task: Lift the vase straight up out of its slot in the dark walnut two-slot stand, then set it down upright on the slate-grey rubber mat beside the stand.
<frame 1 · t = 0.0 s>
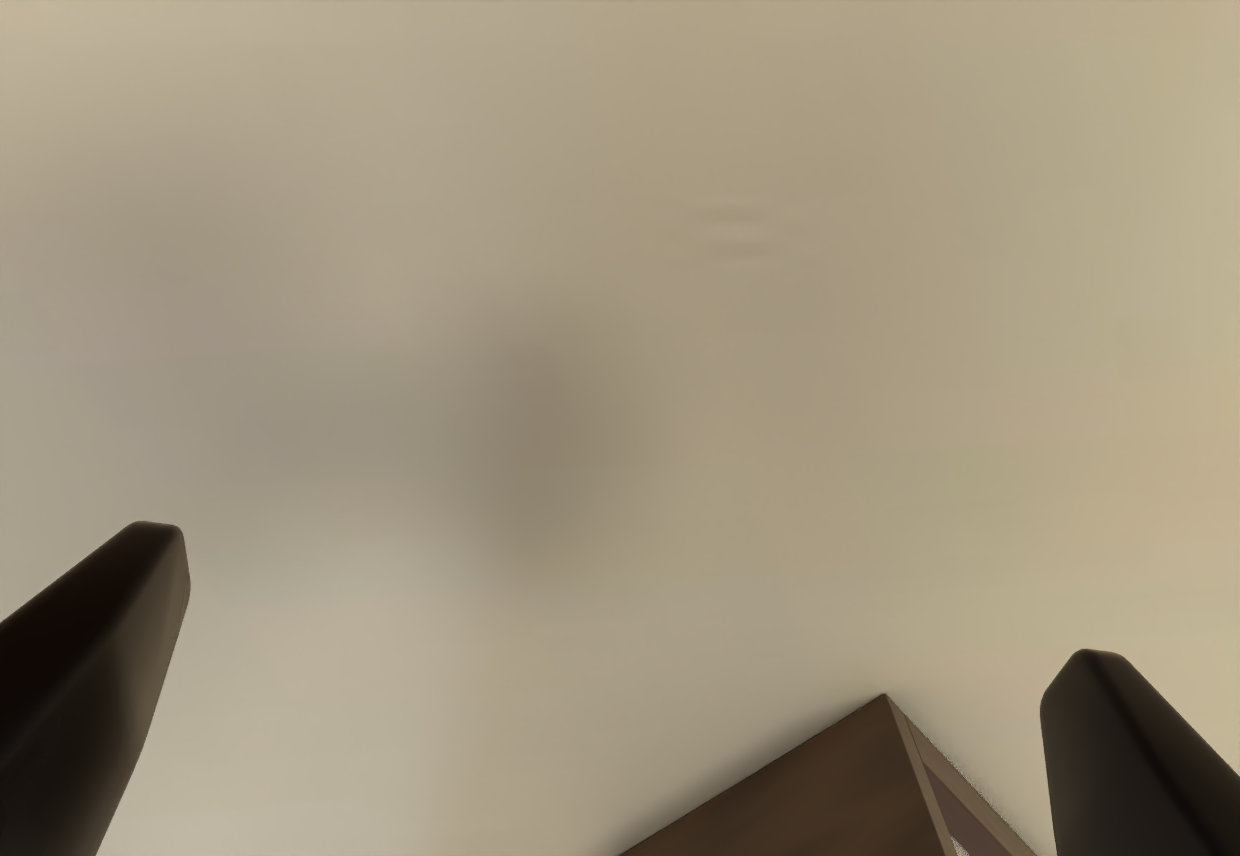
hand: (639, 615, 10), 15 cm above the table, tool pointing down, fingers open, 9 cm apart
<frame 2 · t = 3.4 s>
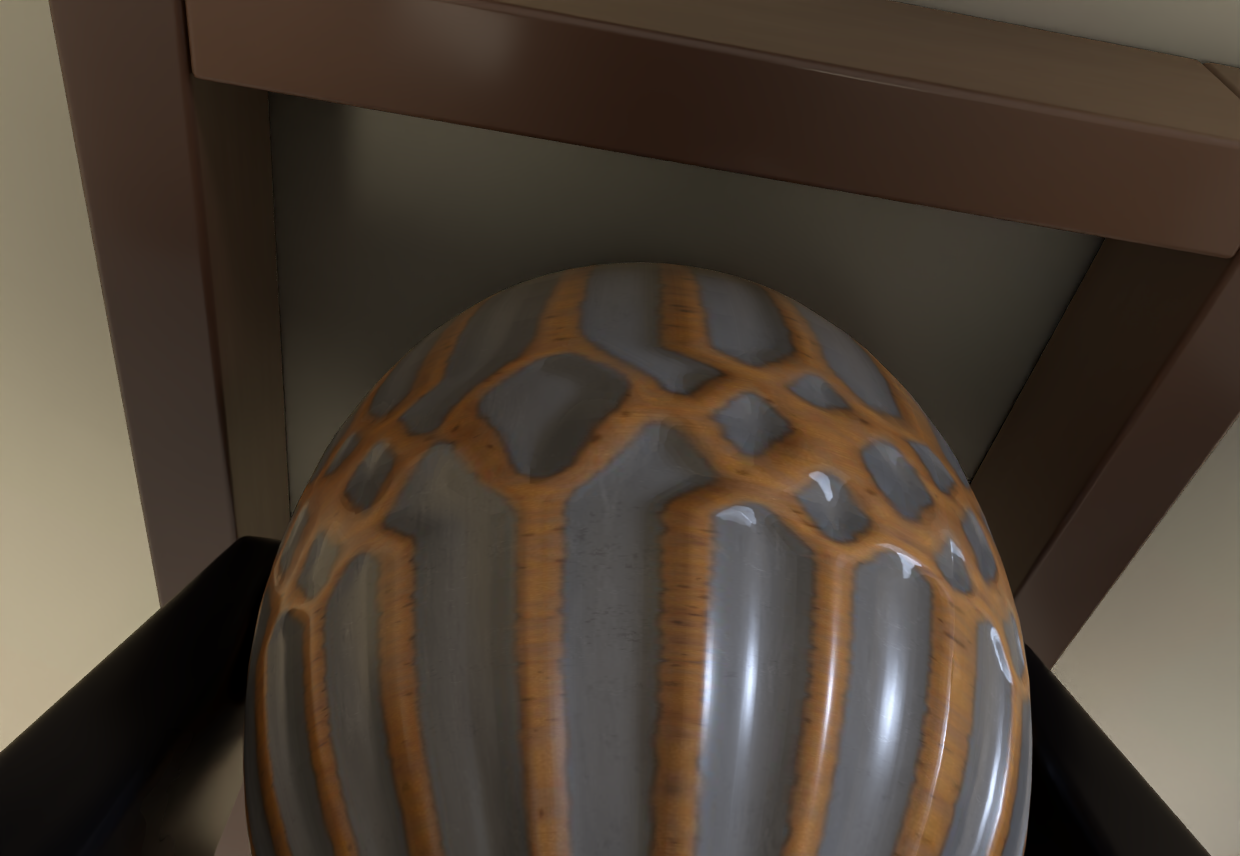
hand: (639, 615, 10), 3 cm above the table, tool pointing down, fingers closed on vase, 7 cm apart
vase: (640, 409, 13), resting in cup stand, touching gripper
cup stand: (582, 656, 16), on the table
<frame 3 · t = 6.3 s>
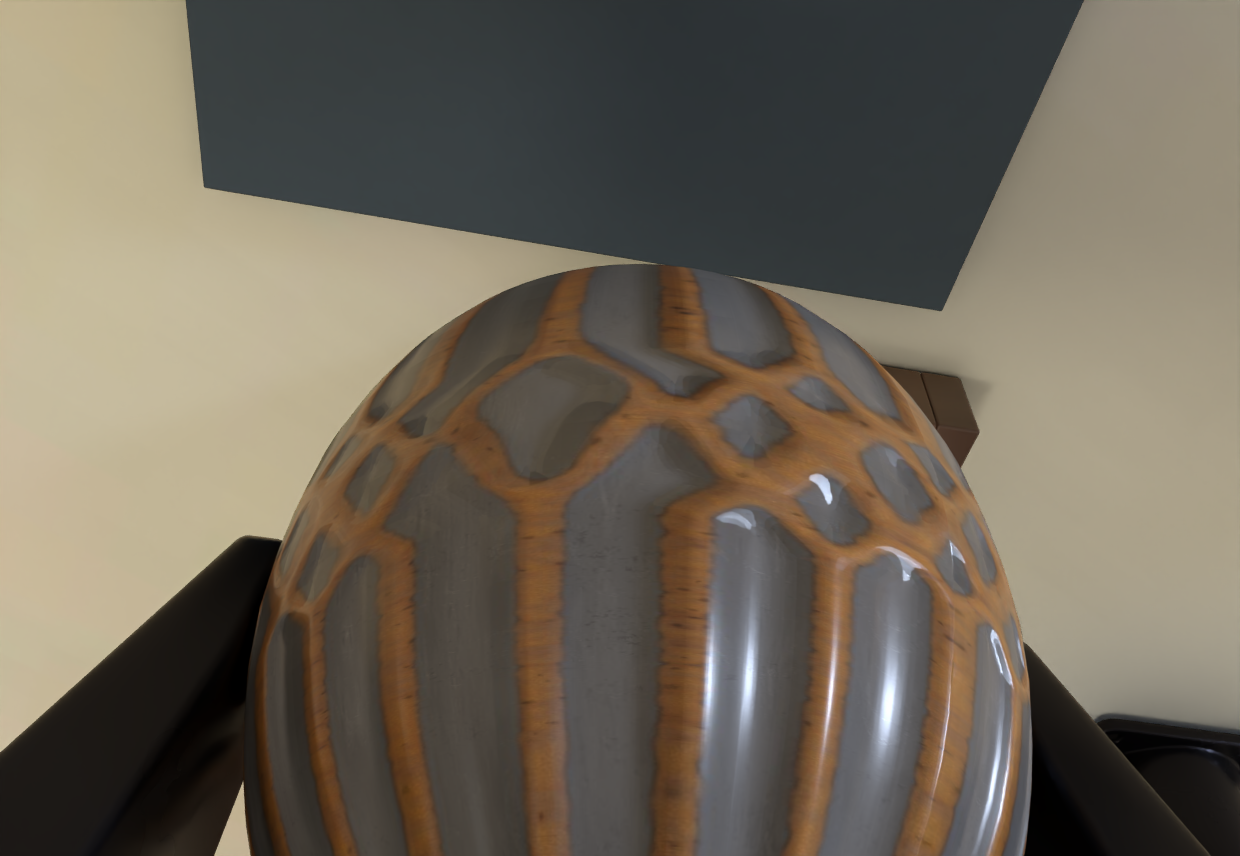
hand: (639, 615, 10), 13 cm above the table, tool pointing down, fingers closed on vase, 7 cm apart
vase: (640, 410, 13), point 10 cm above the table, touching gripper
cup stand: (657, 615, 30), on the table
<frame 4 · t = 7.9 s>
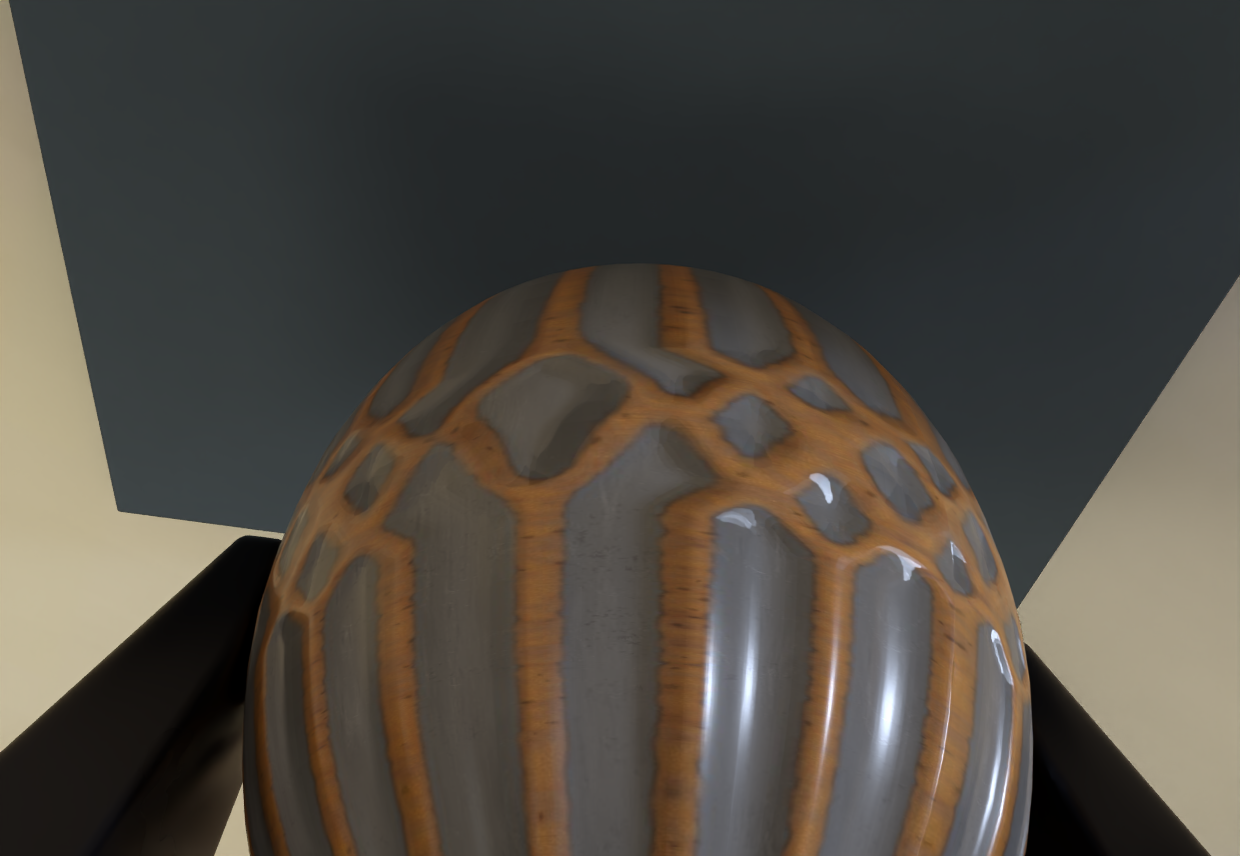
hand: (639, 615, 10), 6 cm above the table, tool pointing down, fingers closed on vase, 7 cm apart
vase: (640, 410, 13), point 3 cm above the table, touching gripper
mat: (639, 279, 15), on the table
when the fingers open (3 cm above the table, at t = 9.2 s): vase stays where it is, resting on mat.
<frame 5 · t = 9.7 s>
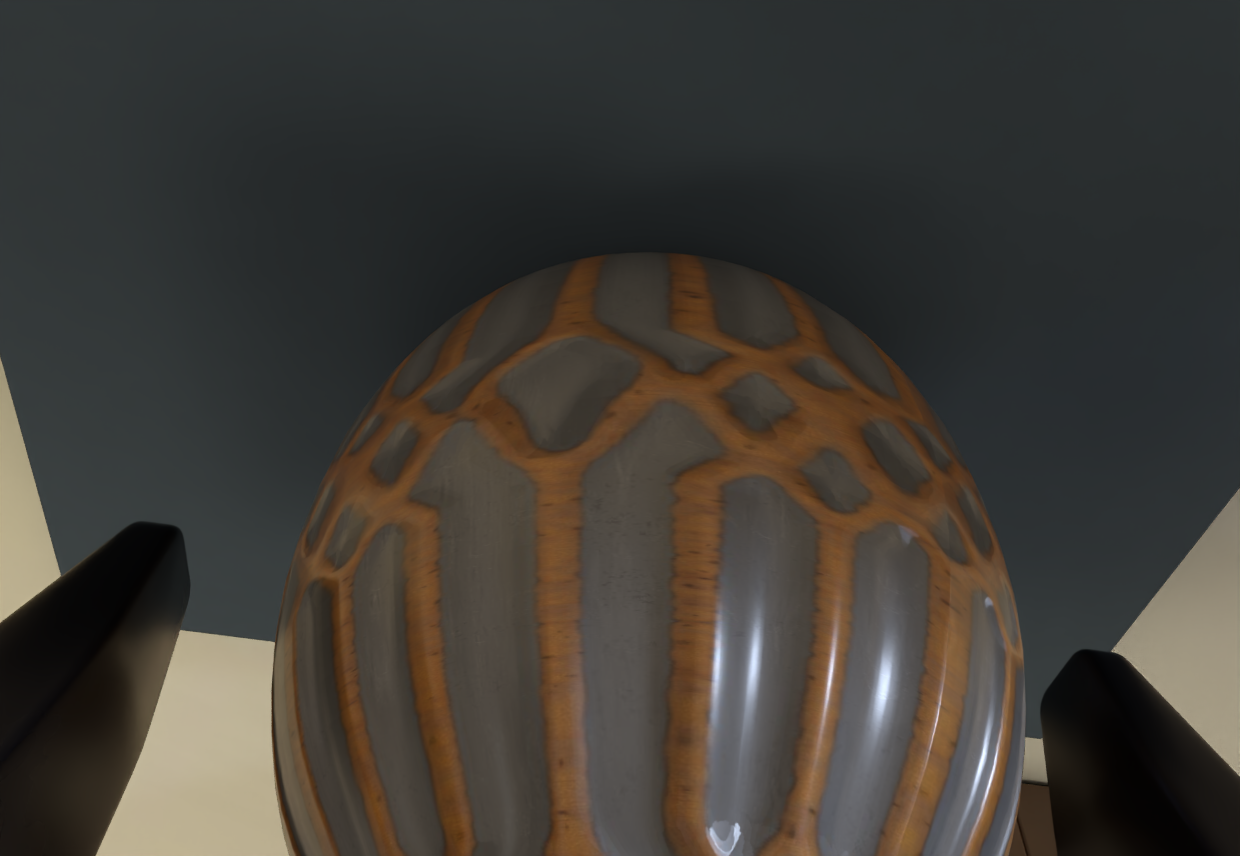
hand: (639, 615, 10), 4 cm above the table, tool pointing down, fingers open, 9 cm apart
vase: (648, 397, 13), resting on mat
mat: (646, 380, 13), on the table
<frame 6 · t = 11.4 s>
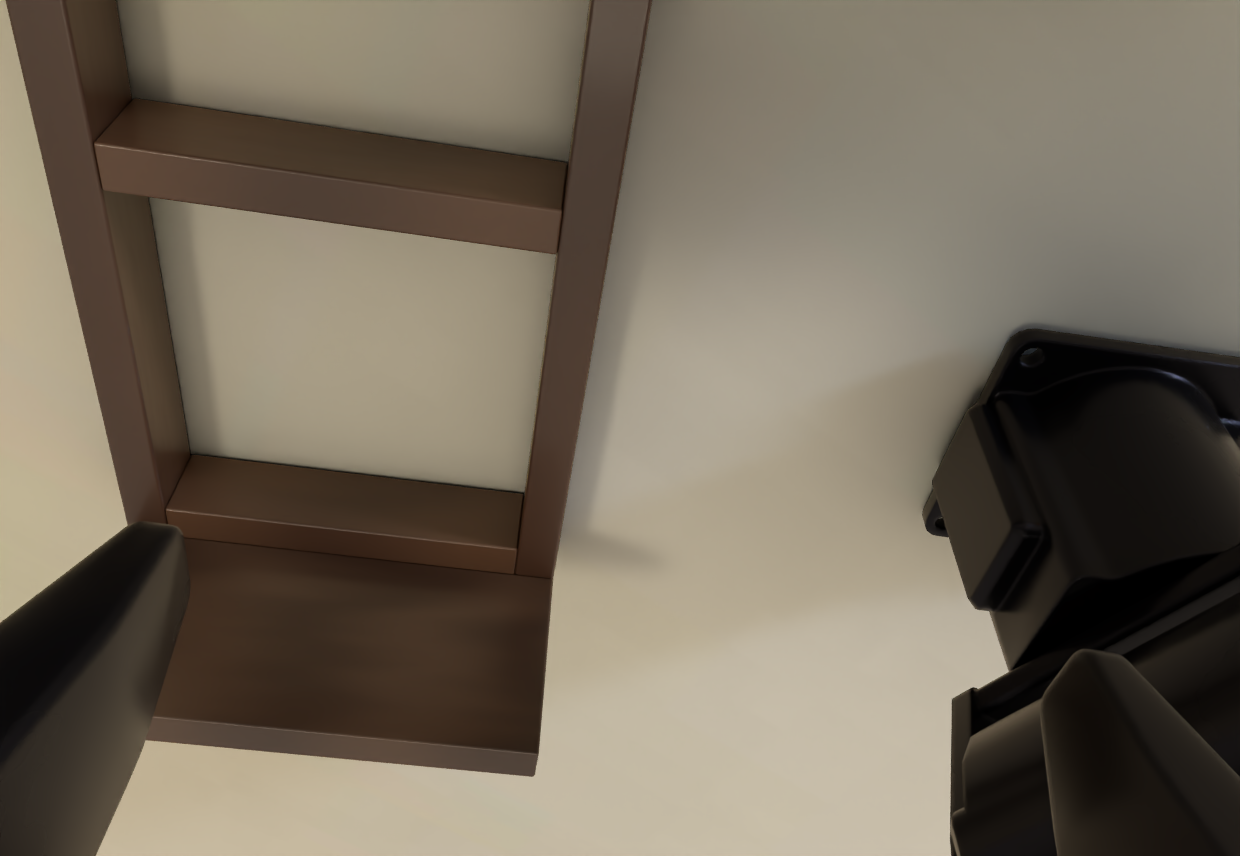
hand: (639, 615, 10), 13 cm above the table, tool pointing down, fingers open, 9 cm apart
cup stand: (355, 152, 21), on the table
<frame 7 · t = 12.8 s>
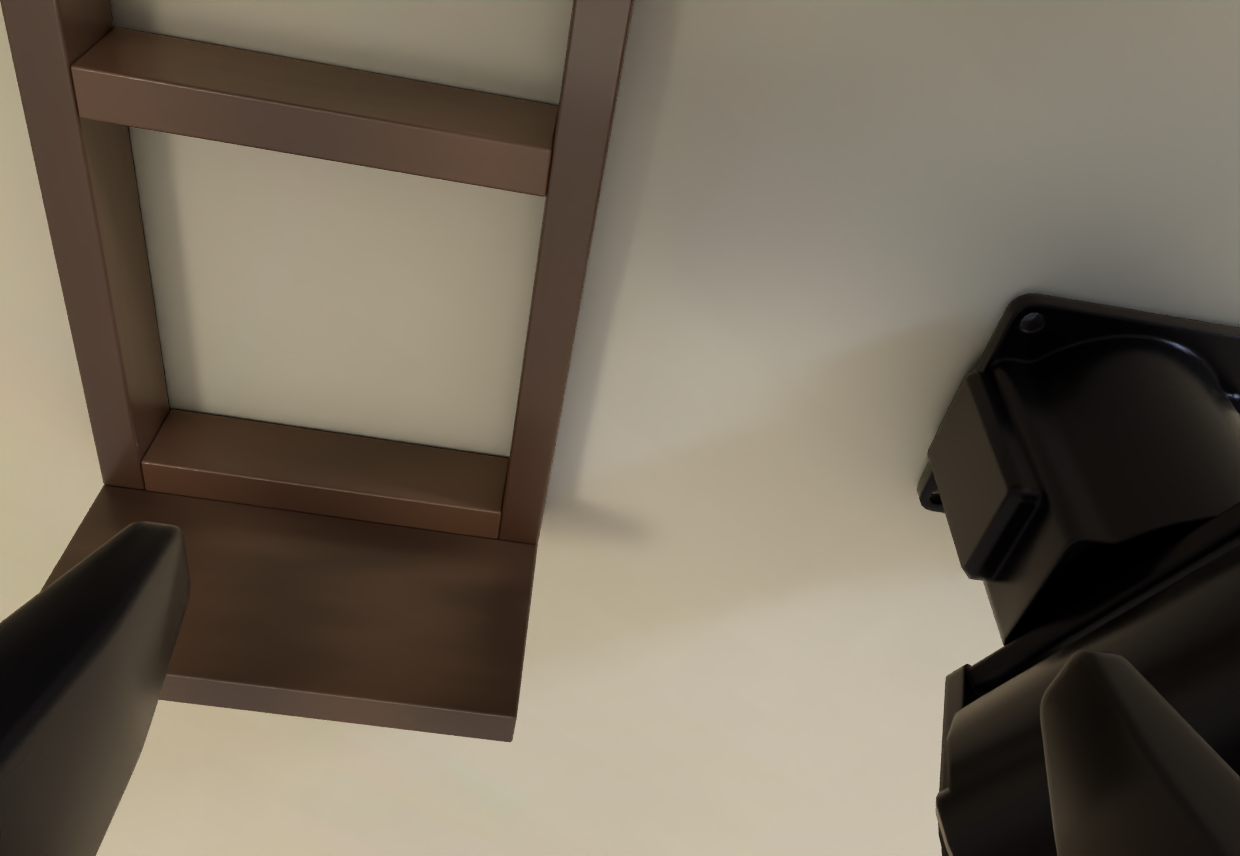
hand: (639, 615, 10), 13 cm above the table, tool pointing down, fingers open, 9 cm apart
cup stand: (341, 91, 20), on the table
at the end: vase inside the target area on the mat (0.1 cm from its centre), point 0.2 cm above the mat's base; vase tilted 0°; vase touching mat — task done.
